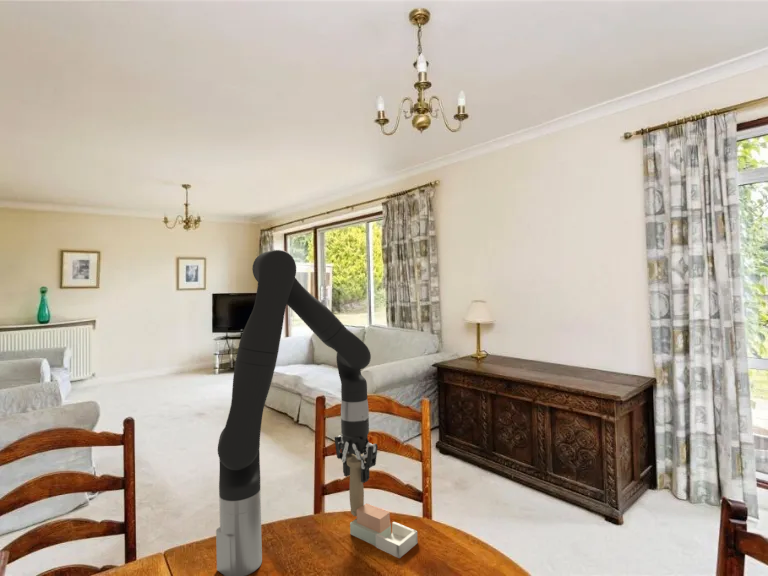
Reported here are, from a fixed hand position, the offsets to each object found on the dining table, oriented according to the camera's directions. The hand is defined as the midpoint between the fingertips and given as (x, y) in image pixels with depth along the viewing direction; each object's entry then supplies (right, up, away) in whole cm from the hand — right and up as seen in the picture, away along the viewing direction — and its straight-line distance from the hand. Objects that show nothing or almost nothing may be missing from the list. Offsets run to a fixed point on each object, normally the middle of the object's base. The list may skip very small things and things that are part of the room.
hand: (356, 478), depth 112 cm
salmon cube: (+6, -10, -5) cm, 13 cm away
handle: (0, -10, 0) cm, 10 cm away
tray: (+11, -13, -8) cm, 19 cm away
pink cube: (+3, -10, -3) cm, 11 cm away
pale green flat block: (+4, -13, -3) cm, 14 cm away
